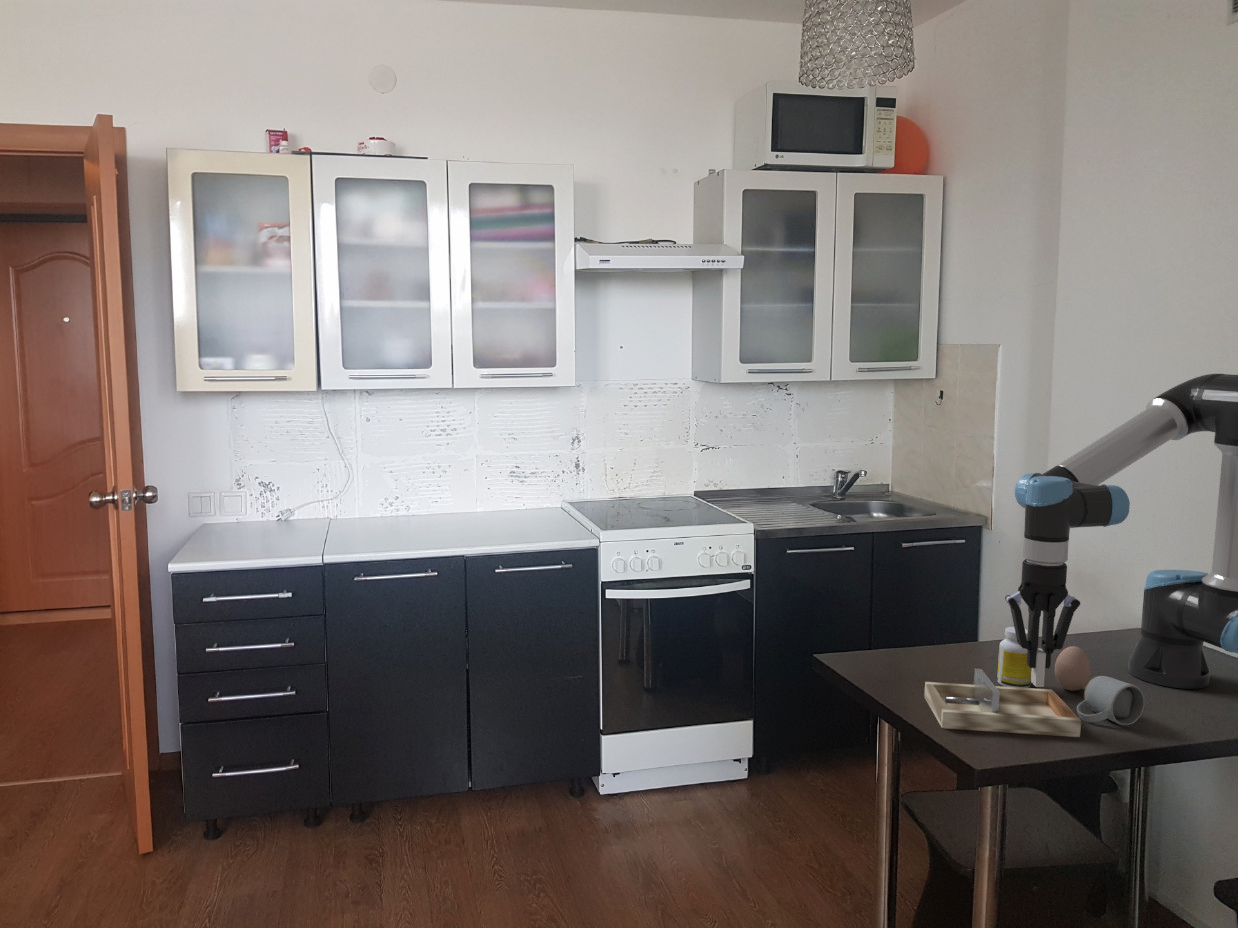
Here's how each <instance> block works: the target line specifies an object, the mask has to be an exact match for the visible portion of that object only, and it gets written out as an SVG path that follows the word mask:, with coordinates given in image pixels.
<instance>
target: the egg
mask: <svg viewBox="0 0 1238 928" xmlns="http://www.w3.org/2000/svg"><path fill="white" fill-rule="evenodd" d="M1091 671H1092V669H1091V663H1090V660H1089V657H1088V655H1087V653H1086V652H1085V651H1084V650H1082V648H1080V647H1078V646H1074V645H1072V646H1068V647H1065V648H1064V649H1063V650H1062V651H1061V652H1060V653H1059V655H1058V656H1057V658H1056V661H1055V663H1054V675H1055V678H1056V680H1057V682H1058V684H1059V685H1060V686H1061V687H1062V688H1064V689H1065V690H1068V691H1070V692H1075V691H1076V692H1077V691H1080V690H1082V689H1083V688H1085V687H1086V685H1087V684H1088V682H1089V681H1090V678H1091V673H1092V672H1091Z"/></svg>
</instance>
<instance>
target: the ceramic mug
mask: <svg viewBox="0 0 1238 928" xmlns="http://www.w3.org/2000/svg"><path fill="white" fill-rule="evenodd" d="M1083 699H1084V700H1083V701H1081V702H1079V703H1078V705H1077V706H1076V711H1077V715H1078V717H1079V719H1080V720H1081V721H1084V722H1087V723H1099V722H1103V721H1105V720H1107V719H1108V720H1109V721H1112V722H1114V723H1115V724H1118V725H1120V726H1124V727H1125V726H1131V725H1133V724H1134V723H1136V722H1138V720H1139V719H1140V718H1141V717H1142V714H1143V712H1144V709H1145V704H1146V703H1145V695H1144V693H1143V691H1142V690H1141V688H1140V687H1139V686H1138V685H1135V684H1132V683H1128V682H1125V681H1122V680H1119V679H1117V678H1115V677H1110V676H1107V675H1106V676H1105V675H1097V676H1094V677H1092V678H1091V679H1089V681H1088V683H1087V684H1086V685H1085V686H1084V692H1083ZM1087 708H1089V709H1090V710H1092V711H1093V712H1094V713H1093V714H1085V713H1083V711H1084V710H1085V709H1087Z"/></svg>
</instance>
